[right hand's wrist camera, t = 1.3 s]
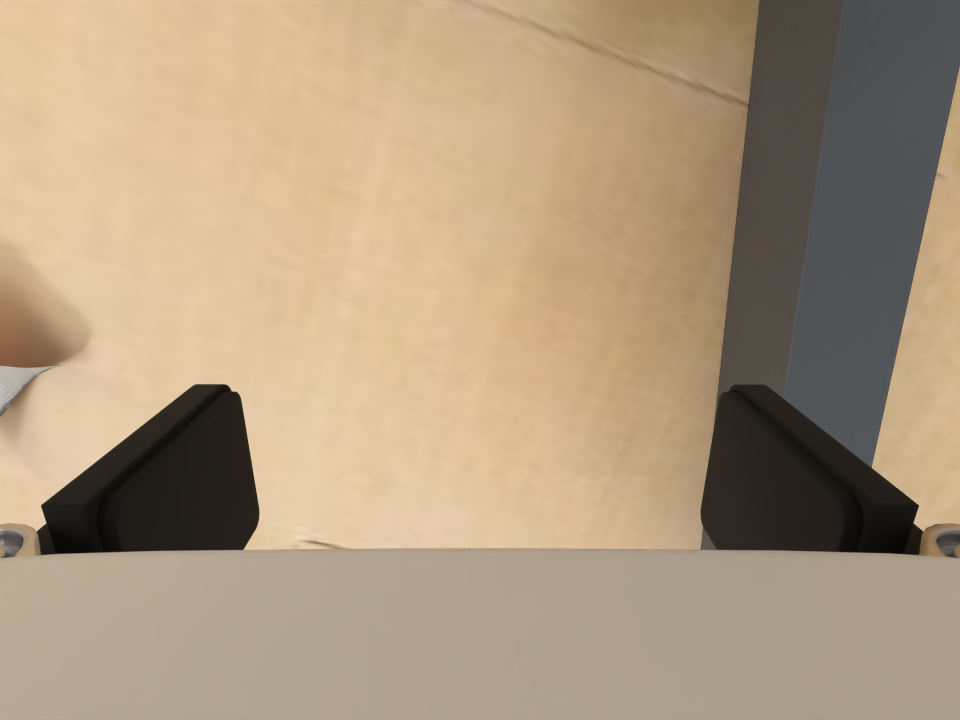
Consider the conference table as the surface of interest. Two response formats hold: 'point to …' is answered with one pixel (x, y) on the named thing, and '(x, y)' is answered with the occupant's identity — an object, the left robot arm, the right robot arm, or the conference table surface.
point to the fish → (15, 382)
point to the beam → (835, 202)
